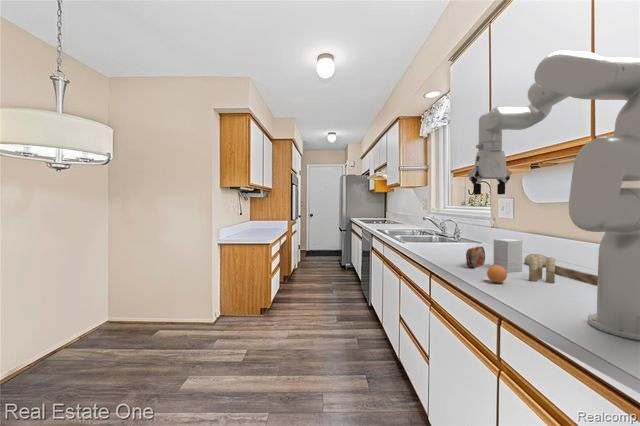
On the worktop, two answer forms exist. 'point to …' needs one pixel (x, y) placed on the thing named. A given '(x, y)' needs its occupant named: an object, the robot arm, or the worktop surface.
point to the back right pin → (550, 270)
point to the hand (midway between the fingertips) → (489, 194)
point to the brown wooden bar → (577, 275)
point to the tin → (475, 257)
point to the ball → (497, 274)
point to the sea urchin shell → (533, 256)
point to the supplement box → (508, 254)
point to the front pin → (533, 268)
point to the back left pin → (539, 266)
